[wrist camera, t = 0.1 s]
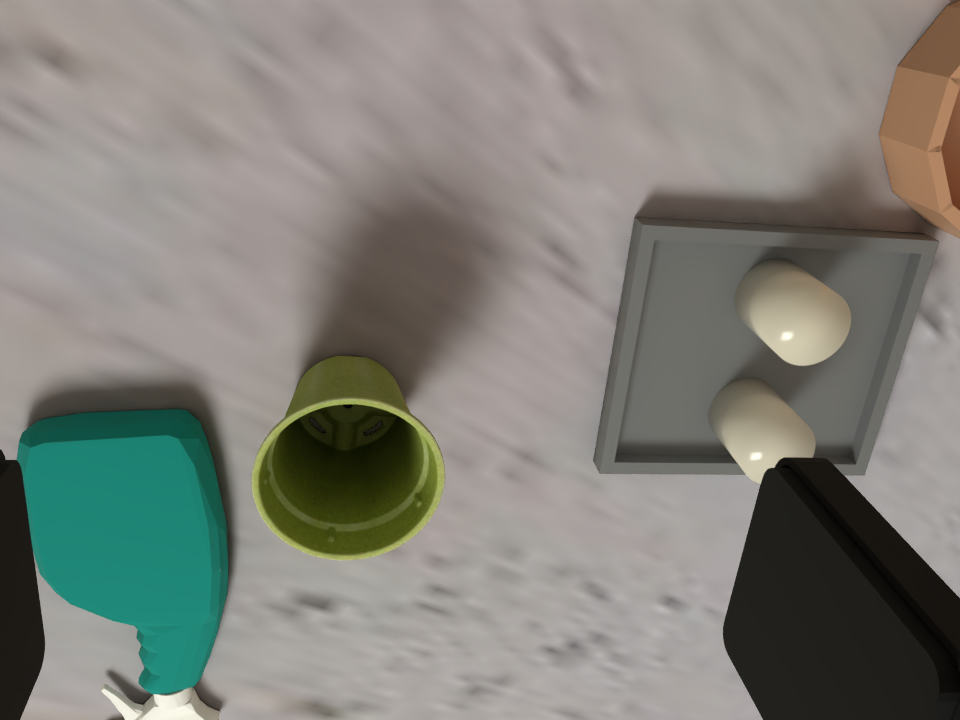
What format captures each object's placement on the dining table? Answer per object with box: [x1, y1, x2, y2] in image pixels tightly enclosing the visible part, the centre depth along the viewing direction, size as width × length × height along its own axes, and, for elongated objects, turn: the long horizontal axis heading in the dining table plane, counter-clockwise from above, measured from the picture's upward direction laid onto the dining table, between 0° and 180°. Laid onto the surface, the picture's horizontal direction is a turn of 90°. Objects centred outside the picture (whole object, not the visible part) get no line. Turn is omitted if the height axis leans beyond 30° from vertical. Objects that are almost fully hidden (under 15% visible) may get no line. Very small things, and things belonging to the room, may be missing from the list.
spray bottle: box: [17, 409, 228, 720], centre depth 54 cm, size 3×11×24 cm
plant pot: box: [252, 356, 445, 560], centre depth 47 cm, size 9×9×9 cm
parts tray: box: [593, 217, 939, 475], centre depth 53 cm, size 16×18×2 cm
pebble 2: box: [708, 378, 816, 484], centre depth 52 cm, size 4×4×5 cm
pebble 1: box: [734, 259, 851, 366], centre depth 49 cm, size 4×4×5 cm
